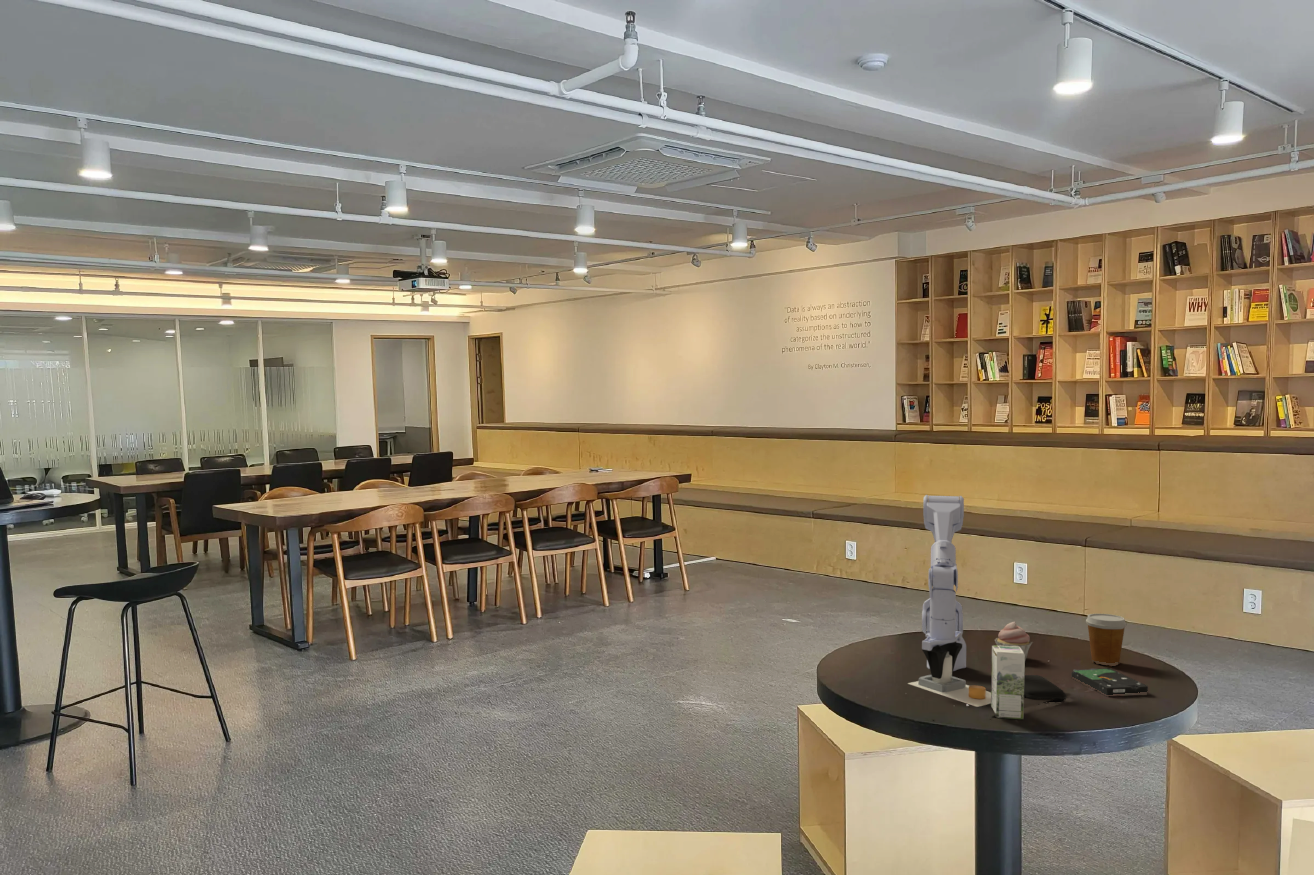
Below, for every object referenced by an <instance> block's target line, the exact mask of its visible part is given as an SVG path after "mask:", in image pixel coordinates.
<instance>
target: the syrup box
mask: <svg viewBox="0 0 1314 875" xmlns="http://www.w3.org/2000/svg"><path fill="white" fill-rule="evenodd" d="M1025 663H1026V660H1025V654H1024V652H1023V651H1022V649H1021V648H1020V647H1018V646H997V645H994V644H993V645H991V675H990V676H991V679H990V680H991V684H990V685H991V689H990V692H991V704H990V707H991V709H992V710H993V712H994V717H995V718H997V719H1010V720H1024V715H1025V714H1024V709H1025V708H1024V707H1025V705H1024V704H1025V697H1024V675H1025V667H1026V666H1025Z"/></svg>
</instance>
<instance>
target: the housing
mask: <svg viewBox="0 0 1314 875" xmlns="http://www.w3.org/2000/svg"><path fill="white" fill-rule="evenodd" d="M966 683H967V682H966V679H962V678H960V677H959V678H958V677H956V676H953V675H952V683H948V684H944V685H943V684H940V683H937V682H934V681H932V675H931V674H928V675H923V676H919V678H918V680H917V681H912V682H908V683H907V685H910V686H913V687H916V688H919V689H922V690H925V691H929V692H931V693H934V694H938V695H941V696H943V697H946V698H949V699H952V700H954V701H958V702H962V703H965V704H968V705H970V706H973V707H975V708H978V707H982V706H986V705H991V691H987V690H986V698H984V699H974V698H971V697H969V686H970V685H968V684H966Z"/></svg>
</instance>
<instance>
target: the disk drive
mask: <svg viewBox="0 0 1314 875" xmlns="http://www.w3.org/2000/svg"><path fill="white" fill-rule="evenodd" d="M1072 677H1074V678H1076V679H1078V680H1080V681H1081V682H1084V683H1085V684H1088V685H1090V686H1091V687H1093V688H1095V689H1097V690H1099V691H1101V692H1102V693H1104V694H1106V695H1113V694H1125V693H1138V692H1139V693H1140V692H1147V691H1148V692H1149V686H1148V685H1147V684H1145V683H1142V682H1140V681H1138V680H1136V679H1134V678H1131V677H1130V676H1127V675H1125V674H1123V673H1121V672H1119V671H1116V670H1114V669H1112V668H1110V667H1109V668H1106V667H1103V668H1089V669H1088V668H1087V669H1073V670H1072V671H1071V678H1072Z"/></svg>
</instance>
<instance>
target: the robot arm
mask: <svg viewBox="0 0 1314 875" xmlns="http://www.w3.org/2000/svg"><path fill="white" fill-rule="evenodd" d="M964 500H965V499H964V496H962V495H957V496H956V495H928V494H925V495H924V496H923V502H922V504H923V505H922V506H923V507H922V508H923V509H922V510H923V512H922V513H923V514H922V516H923V524H924V528H925V529H926V530H928V531H930V532H931V534H932V536H933V540H934V543H933V544H932V545H931V547H930V568H928V584H927V586H928V592H929V598H927V599H926V600H924V601H923V604H922V610H921V632H922V633H923V634H925V639H924V640H922V641H921V650H922V652H923V654H924V655H925V658H926V668H927V669H928V670H929V671H930V675H932V677H934V678H938V679H940V678H941V677H942V672H943V663H944V659H945V656H946V654H947V652H949V655H951V656H952V674H953V672H955V671H957V670H960V669H965V668H967V643H966V641H965V639H964V638H963V635H964V613H963V606H962V603H960V602H959V601H958V600H957V599H956V598H957V597H956V596H957V592H958V588H959V586H958V585H959V570H958V567H957V562H956V560H957V556H956V553H957V550H956V545H954V544H953V543H952V540H953V538H954V535H955V533H957V532H959V531H962V527H963V524H964V518H965V516H964V514H965V503H964V502H965V501H964ZM954 586H955V587H954ZM954 588H955V590H954Z"/></svg>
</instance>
